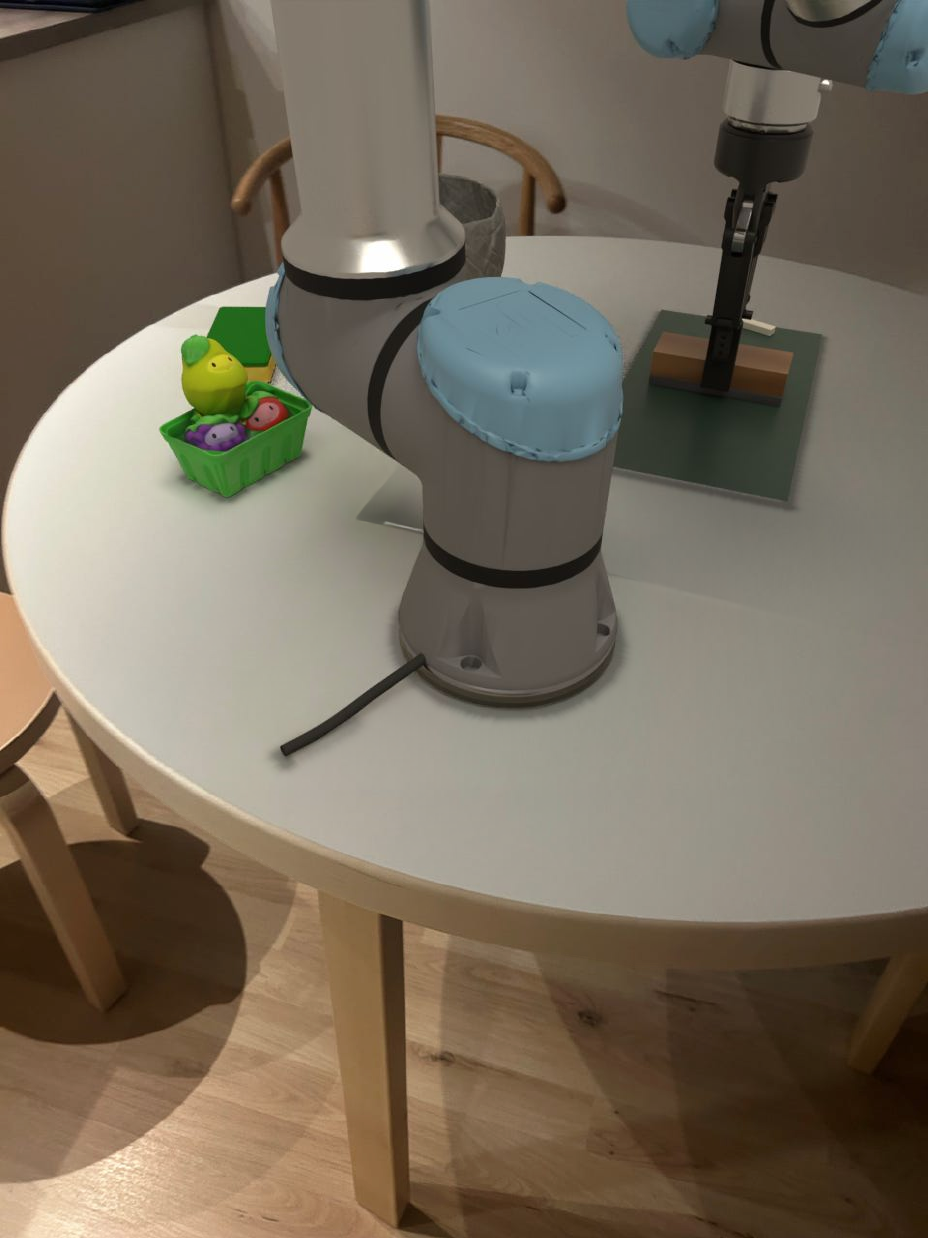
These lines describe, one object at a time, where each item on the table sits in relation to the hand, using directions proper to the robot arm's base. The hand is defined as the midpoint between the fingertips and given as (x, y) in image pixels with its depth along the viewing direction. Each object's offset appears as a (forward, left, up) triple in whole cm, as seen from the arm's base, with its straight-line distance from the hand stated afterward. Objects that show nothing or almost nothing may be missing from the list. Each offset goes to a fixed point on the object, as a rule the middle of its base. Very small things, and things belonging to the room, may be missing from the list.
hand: (715, 386), depth 93 cm
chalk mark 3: (+13, +13, -1) cm, 18 cm away
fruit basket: (-46, +5, -2) cm, 46 cm away
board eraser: (+2, +3, -1) cm, 3 cm away
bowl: (-23, +26, -2) cm, 34 cm away
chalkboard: (+1, +2, -2) cm, 3 cm away
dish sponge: (-41, +27, -2) cm, 49 cm away
